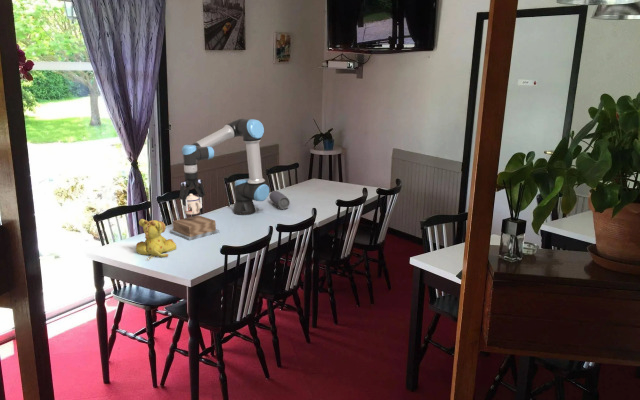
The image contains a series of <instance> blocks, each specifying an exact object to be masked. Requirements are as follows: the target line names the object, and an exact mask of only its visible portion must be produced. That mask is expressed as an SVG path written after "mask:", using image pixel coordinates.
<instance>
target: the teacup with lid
mask: <svg viewBox="0 0 640 400" xmlns="http://www.w3.org/2000/svg"><path fill="white" fill-rule="evenodd" d="M186 200H187V205H188V211H185V210H184V214H185V215H188V216H189V215H192V216H193V215H197V214H198V215H199V213H200V210H201V209H202V208H201V204H200V203H199V196H196V195H194V194H193V193H188V195H187V198H186Z"/></svg>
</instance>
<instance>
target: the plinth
mask: <svg viewBox="0 0 640 400" xmlns="http://www.w3.org/2000/svg"><path fill="white" fill-rule="evenodd" d="M169 233H170V234H171V235H174V236H177V237H178V238H180V239H181V238H182V239H184V240H187V241H188V242H189V241H190V242H191V241H193V240H194V241H195V240H196V239H201V238H205V237H208V235H209V236H212V234H213V235H216V234H219V233H220V229H217V228H216V220H214V219H211V218H210V217H209V218H208V217H205V216H202V215H199V214H198V215H197V214H196V215H192V216H190V217H185V218H181V219H176V220H173V221H172V229H171V230H170V231H169Z"/></svg>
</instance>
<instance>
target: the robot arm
mask: <svg viewBox="0 0 640 400" xmlns="http://www.w3.org/2000/svg"><path fill="white" fill-rule="evenodd" d="M264 133H265V129H264V125H263V123H262V122H261V121H260V120H258V119H254V118H253V119H252V118H237V119H235V120H232V121H231V122H229V123H226V124H225V125H224V126H223V128H221V129H219V130H216V131H215V132H213V133H211V134H209V135H207V136H205V137H203V138H202V139H199V140H198V141H195V142H193V143H191V144H184V145H183V146H182V148H181V154H182V159H183V172H184V182H180V183H179V184H180V188H179V197H178V199H179V200H182V206H183V210H184V212H185V211H188V205H187V200H186V198H187V196H189V192H190V190H191V189H192V188H194V190H195V191H196V194H197V195H198V197H199V203H200V204H201V208H200V209H202V208H203V205H202V204H203V198H204V197H205V196H206V192H205V188H204V184H203V182H204V181H203V180H202V179H198V177H199V175H198V162H199V161H205V160H206V161H207V160H210V159H214V157H215V149H214V148H213V147H215V146H218V145H219V144H221V143H223V142H226V140H228V139H233V138H236V137H241V138H242V141H243V143H245V146H246V147H245V150H246V159H247V168H248V178H243V179H242V178H241V179H238V180H237V179H236V180H235V182H234V200H235V203H234V206H233V209H232V211H233V214H234V215H238V216H240V215H241V216H246V215H247V216H248V215H251V214H252V215H253V214H255V213H256V207H255V204H254V202H255V201H256V202H263V201H265V200H267V199H268V197H269V196H270V187H269V185H267V184H266V179H264V178H263V171H262V169H263V168H262V157H261V150H260V149H261V148H260V142H261V141H262V137H263V135H264Z"/></svg>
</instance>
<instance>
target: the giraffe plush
mask: <svg viewBox="0 0 640 400" xmlns="http://www.w3.org/2000/svg"><path fill="white" fill-rule="evenodd" d="M138 224H139V226H140V227H142V230H143V234H144V236H145V237H144V238H145V239H144V240H145V241H142V240H141V241H140V242H137V244H136V245H135V247H136V248H135V251H136V253H138V254H140V255H142V256H148V257H146V259H147V260H146V261H149V260H151V259H153V258H155V257H161V258H167V257H169V254H168V252H172V251H174V250H177V244H176V243H175V242H174V240H173V239H172V238H169V239H167V238H165V237H164V236H163V235H162V234H163V233H164V232H165V231H166V224H165V223H164V221H160V220H155V219H153V220H149V221H148V220H146V219H144V218H141V219H139V221H138ZM149 255H150V256H149ZM154 256H155V257H154ZM148 258H149V259H148Z"/></svg>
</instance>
